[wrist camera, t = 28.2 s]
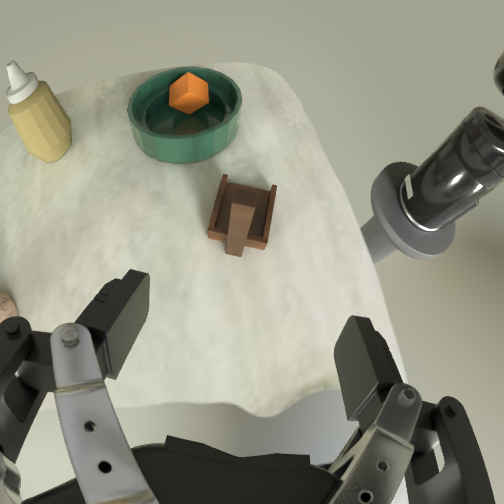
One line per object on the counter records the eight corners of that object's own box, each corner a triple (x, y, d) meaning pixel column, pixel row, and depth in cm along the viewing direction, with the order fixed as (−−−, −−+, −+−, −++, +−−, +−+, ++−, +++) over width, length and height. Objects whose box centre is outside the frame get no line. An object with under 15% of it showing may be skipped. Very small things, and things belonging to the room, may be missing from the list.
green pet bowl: (247, 100, 41) (251, 74, 36) (224, 175, 36) (226, 148, 31) (157, 88, 41) (154, 63, 35) (118, 157, 35) (108, 132, 30)
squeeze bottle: (63, 171, 34) (8, 82, 17) (28, 167, 33) (-26, 90, 16) (86, 129, 37) (50, 39, 20) (51, 128, 36) (11, 49, 19)
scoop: (261, 261, 33) (286, 215, 22) (204, 249, 33) (200, 196, 21) (273, 194, 36) (297, 131, 25) (222, 183, 36) (227, 116, 24)
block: (188, 91, 33) (188, 71, 33) (168, 105, 35) (169, 85, 36) (209, 102, 36) (208, 82, 37) (189, 115, 38) (189, 95, 39)
